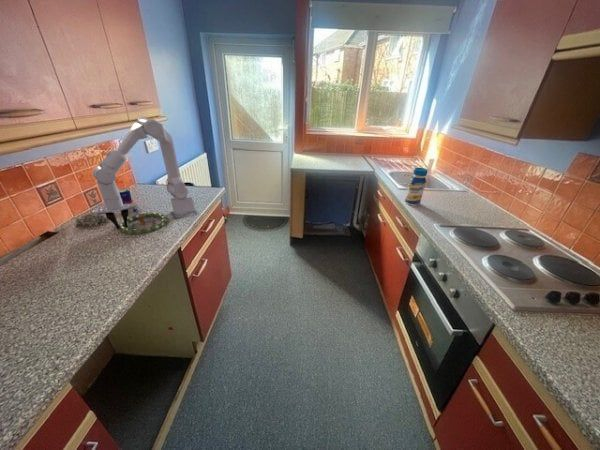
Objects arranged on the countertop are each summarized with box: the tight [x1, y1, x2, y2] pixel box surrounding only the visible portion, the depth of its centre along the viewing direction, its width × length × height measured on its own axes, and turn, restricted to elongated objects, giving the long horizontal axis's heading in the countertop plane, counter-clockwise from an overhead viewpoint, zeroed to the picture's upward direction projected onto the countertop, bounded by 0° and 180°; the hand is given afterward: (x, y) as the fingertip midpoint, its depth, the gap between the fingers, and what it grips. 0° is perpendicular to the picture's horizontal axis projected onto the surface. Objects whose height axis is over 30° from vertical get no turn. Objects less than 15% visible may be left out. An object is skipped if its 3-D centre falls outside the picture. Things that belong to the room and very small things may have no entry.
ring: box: [118, 212, 169, 236], centre depth 109 cm, size 18×18×2 cm
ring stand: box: [138, 215, 147, 227], centre depth 108 cm, size 8×8×6 cm
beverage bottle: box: [404, 167, 429, 207], centre depth 139 cm, size 8×8×20 cm
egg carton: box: [72, 212, 106, 227], centre depth 109 cm, size 11×8×4 cm
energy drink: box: [118, 187, 138, 215], centre depth 118 cm, size 5×5×12 cm
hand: (122, 227), depth 105 cm, fingers closed on ring, 2 cm apart
